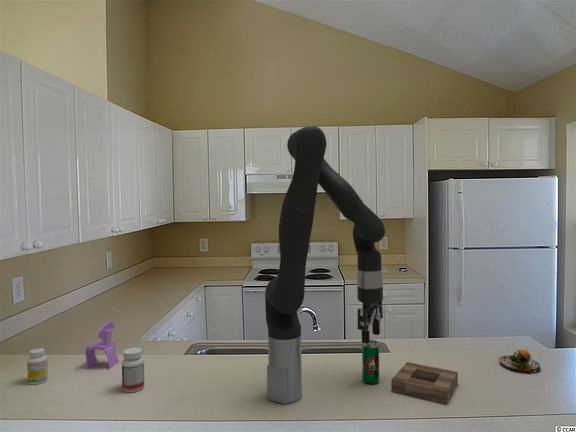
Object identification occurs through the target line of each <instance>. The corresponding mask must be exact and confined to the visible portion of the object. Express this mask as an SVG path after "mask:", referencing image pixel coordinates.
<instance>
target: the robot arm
mask: <svg viewBox="0 0 576 432" xmlns="http://www.w3.org/2000/svg"><path fill="white" fill-rule="evenodd" d="M326 138H327V137H326V135H325V133H324V131H323V130H322V129H321V128H320V127H318V126H315V125H308V126H303V127H302V128H299V129H298V130H296V131H294V132H293V133H291V135H289V137H288V139H287V143H286V144H287V145H286V147H287V150H288V153H289V155H290V156H291V157H292V158H293V159H294V168H293V175H292V178H291V182H290V184H289V186H288V189H287V190H286V192H285V195H284V198H283V201H282V204H281V210H280V215H279V220H278V221H279V223H278V243H279V245H278V246H279V259H280V260H279V261H280V262H279V266H278V267H279V268H278V273H277V276H275V277H273V278H272V279H270V280H269V282H268V283H267V285H266V288H265V293H264V299H265V300H264V303H265V322H266V323H265V324H266V328H267V338H268V339H267V343H268V344H267V345H268V347H267V349H268V350H267V351H268V352H267V353H268V364H267V365H266V391H267V393H266V395H267V400H269V401H273V402H276V403H279V404H283V405H288V404H290V403H295V402H297V401H299V400H300V399H301V398H302V397H303V383H302V382H303V378H302V375H303V373H302V371H303V370H302V325H301V323H300V320H299V319H300V318H299V316H298V310H299V309H300V308H301V306H302V305H303V303H304V300H305V290H306V287H305V286H306V266H307V260H308V253H309V247H310V242H311V236H312V231H313V224H314V217H315V209H316V202H317V201H316V200H317V194H318V186H319V187H321V189H322V190H323V191H324V192H325V193H326V195H327V196H328V197H329V199H330V200H331V201H332V203H333V204H334V206H335V207H336V208H337V209H338V211H339V213H340V214H341V215H342V216H343V217H344V218H345V219H346V220H349V221H350V222H351V223H352V224H354V225H353V227H352V239H353V244H354V249H355V251H356V255H357V276H356V286H357V287H356V289H357V291H356V292H357V294H356V295H357V302H358V301H359V302H360V303H362V308H357V330H359V331H361V343H362V344H363V343H367V344H368V343H369V342H370V340H371V339H370V338H371V337H370V335H371V334H370V328H371V329H372V331H371V333H372V334H373V335H375V336H379V335H380V334H381V322H382V319H383V318H384V316H383V314H384V312H383V300H384V295H383V294H384V286H383V285H384V281H383V277H384V276H383V272H382V268H383V267H382V253H381V251H379V250H378V249H377V248H376V245H375V243H379V242H380V241H382V240H383V239H384V237H385V234H386V228H385V224H384V222H383V221H382V220H381V218H380V217H379V216H378V215H377V214H376V213H375V212H374V211H373V210H371V208H369V207H368V206H367V205H366V204H365V203H364V201H363V200H362V199H361V197H360V196H359V194H358V193H357V191H356V190H355V188H354V187H353V186H352V185H351V184H350V183H349V182H348V181H347V180H346V179H345V178H344V177H342V175H340V174H339V173H338V172H337V171H336V170H334V168H333V167H331V165H330V164H329V163H328V162H327V161H326V159H325V154H326V149H327V139H326Z"/></svg>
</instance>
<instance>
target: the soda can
mask: <svg viewBox="0 0 576 432" xmlns="http://www.w3.org/2000/svg"><path fill="white" fill-rule="evenodd" d="M361 373H362V374H361V379H362V381H363V382H364V383H365V384H368V385H376V384H378V383H379V382H380V345H379V342H378V341H377V340H374V339H370V342H369V343H368V344H367V343H362V344H361Z"/></svg>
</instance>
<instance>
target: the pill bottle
mask: <svg viewBox="0 0 576 432" xmlns="http://www.w3.org/2000/svg"><path fill="white" fill-rule="evenodd" d="M122 355H123V360H122V362H121V380H122V381H121V385H122V387H121V388H122V391H123V392H125V393H136V392H139V391H141V390H143V389H144V388H145V360H144V359H145V358H144V357H142V356H143V349H142V348H141V347H131V348H126V349H125V350H123V354H122Z"/></svg>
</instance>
